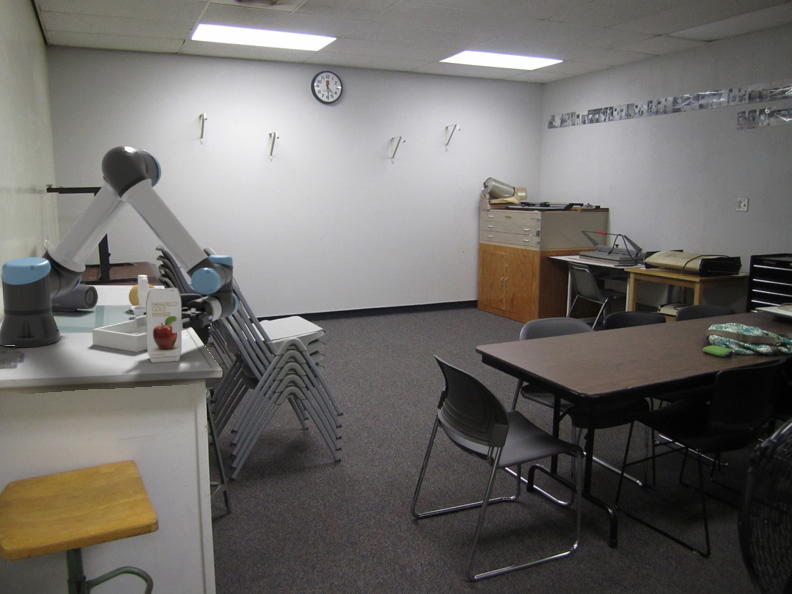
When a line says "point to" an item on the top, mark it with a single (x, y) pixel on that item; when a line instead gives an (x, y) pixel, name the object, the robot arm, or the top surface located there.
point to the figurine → (141, 296)
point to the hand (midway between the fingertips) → (154, 325)
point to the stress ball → (135, 295)
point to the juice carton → (163, 324)
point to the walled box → (121, 336)
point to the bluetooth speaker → (76, 299)
